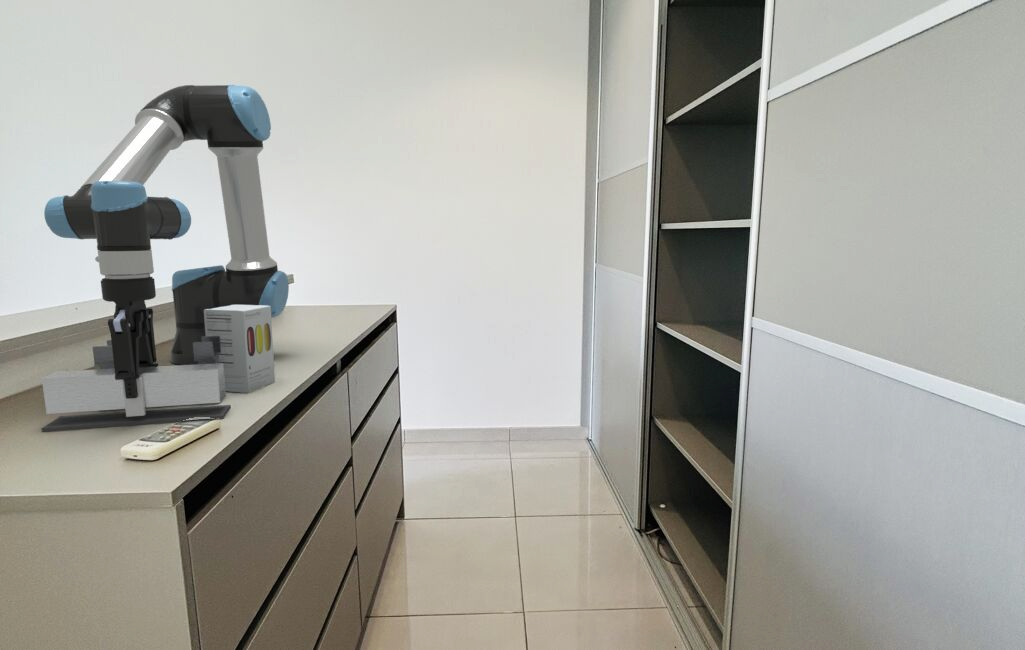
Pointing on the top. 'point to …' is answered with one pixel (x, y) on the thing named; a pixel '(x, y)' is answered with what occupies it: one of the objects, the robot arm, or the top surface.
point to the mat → (134, 418)
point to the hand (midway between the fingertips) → (141, 410)
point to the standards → (202, 350)
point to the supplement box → (243, 345)
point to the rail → (158, 387)
